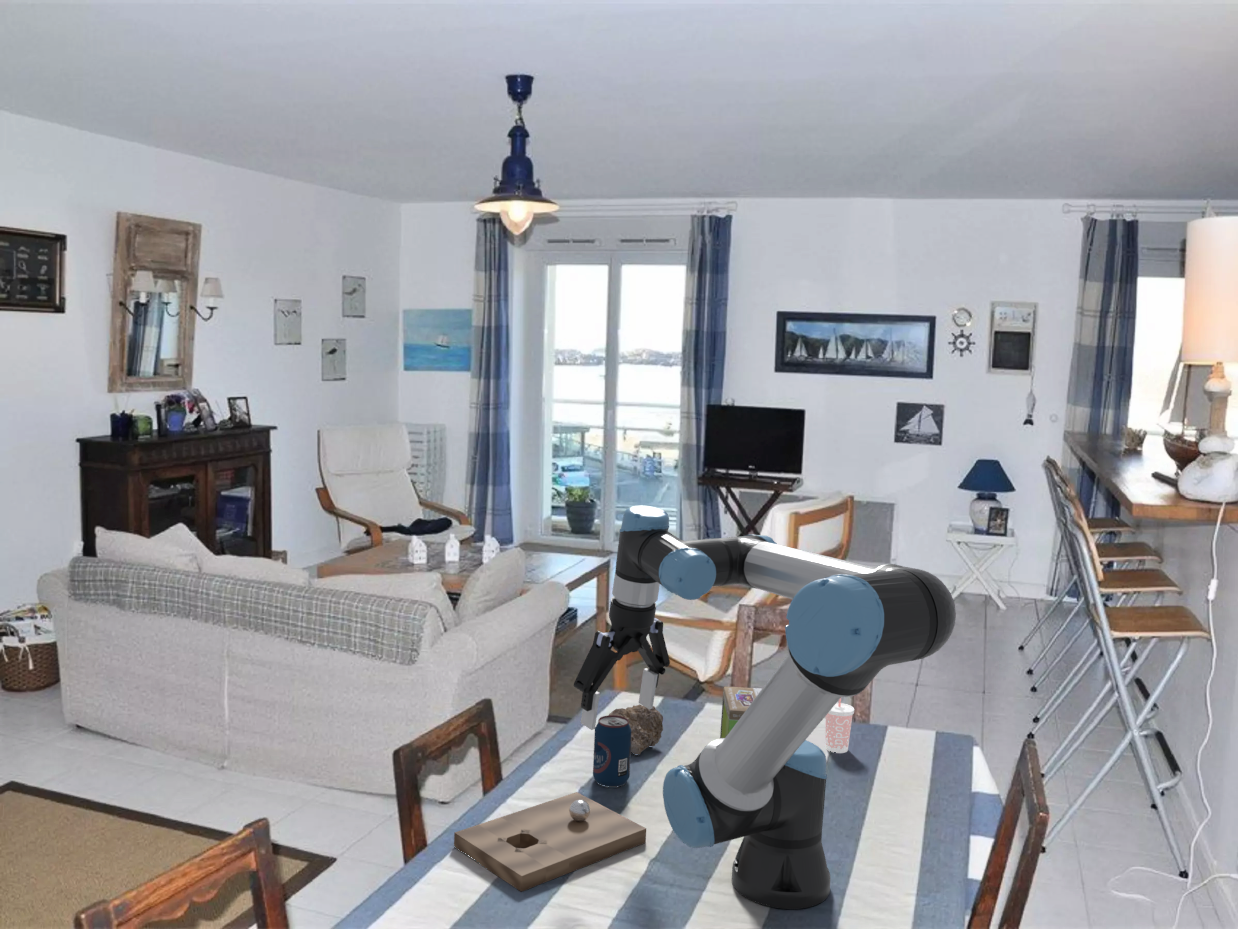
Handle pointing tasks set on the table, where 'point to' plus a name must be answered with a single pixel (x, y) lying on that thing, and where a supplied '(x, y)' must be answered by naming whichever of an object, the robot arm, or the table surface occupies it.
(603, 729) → the soda can
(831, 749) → the beverage cup
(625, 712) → the brown rock
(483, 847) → the walnut board
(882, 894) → the table surface
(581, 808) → the steel ball
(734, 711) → the tea box
